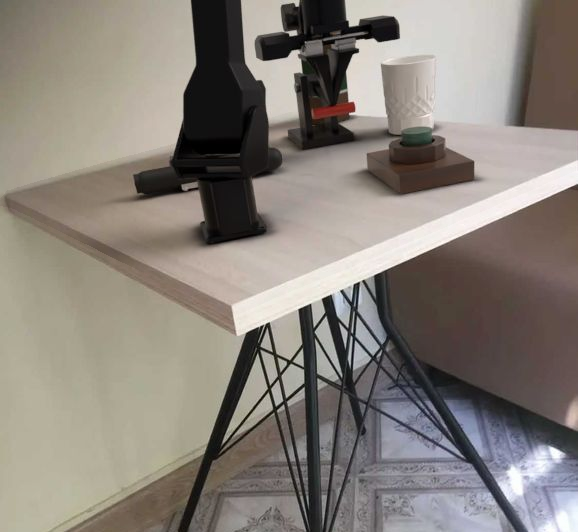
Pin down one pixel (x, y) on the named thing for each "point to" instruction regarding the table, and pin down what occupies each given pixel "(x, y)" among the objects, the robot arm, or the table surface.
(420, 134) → the button
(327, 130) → the bracket
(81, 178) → the table surface
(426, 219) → the table surface
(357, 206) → the table surface
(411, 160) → the button block
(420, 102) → the white cup
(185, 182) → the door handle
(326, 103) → the lever
